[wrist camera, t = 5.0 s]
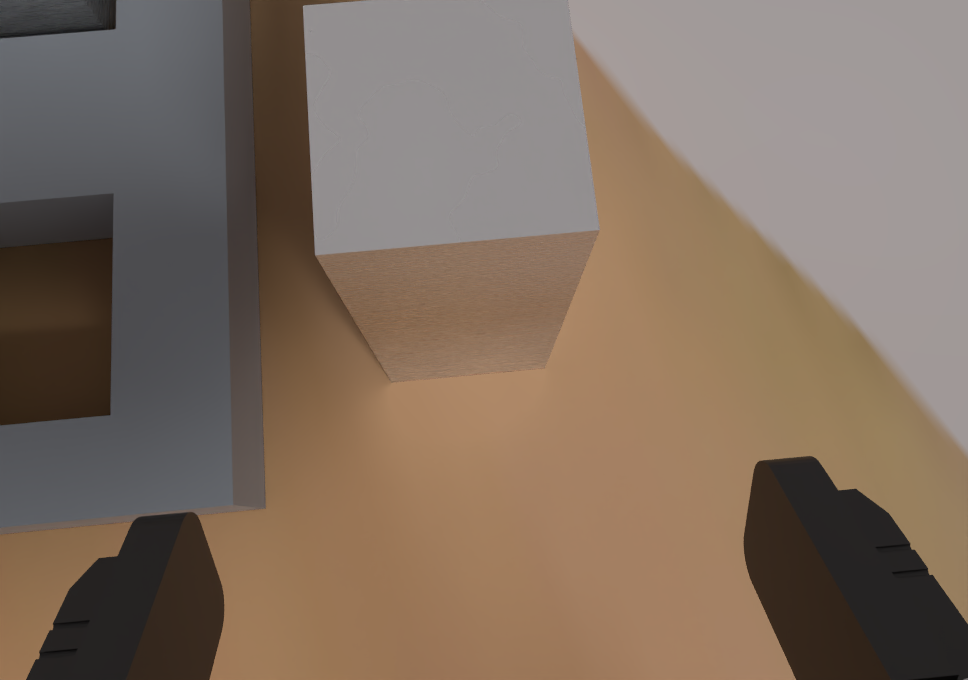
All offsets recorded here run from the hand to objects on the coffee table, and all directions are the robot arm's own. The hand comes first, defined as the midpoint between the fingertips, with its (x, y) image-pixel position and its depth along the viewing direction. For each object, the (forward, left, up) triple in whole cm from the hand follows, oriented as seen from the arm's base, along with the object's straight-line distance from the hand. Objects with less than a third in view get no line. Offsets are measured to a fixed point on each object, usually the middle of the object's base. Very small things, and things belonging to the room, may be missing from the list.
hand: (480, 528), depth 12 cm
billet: (+5, +5, -11) cm, 13 cm away
